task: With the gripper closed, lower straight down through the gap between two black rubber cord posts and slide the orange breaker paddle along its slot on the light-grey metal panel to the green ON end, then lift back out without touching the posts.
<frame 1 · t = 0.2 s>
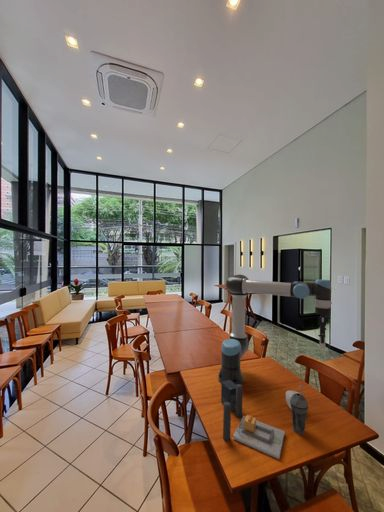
hand: (322, 344, 125), 28 cm above the table, fingers open, 13 cm apart
breaker paddle: (250, 423, 96), point 4 cm above the table, slide at 0.0 cm
cup: (292, 407, 114), on the table
cord post B: (226, 438, 92), on the table
box: (229, 405, 114), on the table
breaker panel: (259, 436, 93), on the table
beverage cup: (298, 430, 98), on the table
cord post A: (238, 415, 106), on the table
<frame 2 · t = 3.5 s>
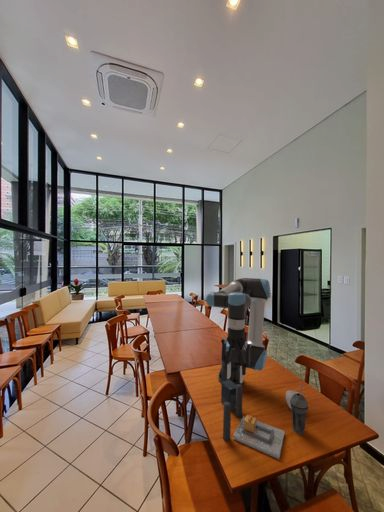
hand: (235, 379, 99), 21 cm above the table, fingers open, 5 cm apart
nothing on the table moved.
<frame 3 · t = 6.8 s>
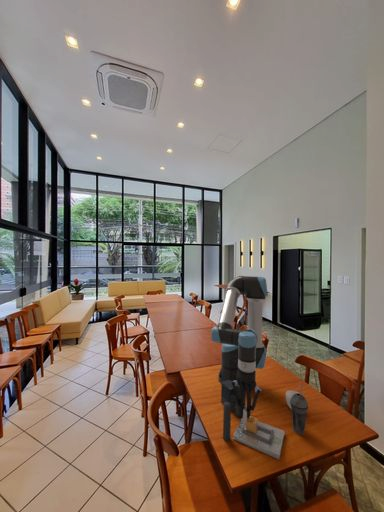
hand: (245, 423, 96), 3 cm above the table, fingers closed
breaker paddle: (252, 423, 95), point 4 cm above the table, slide at 0.9 cm, touching gripper
everything else where it was.
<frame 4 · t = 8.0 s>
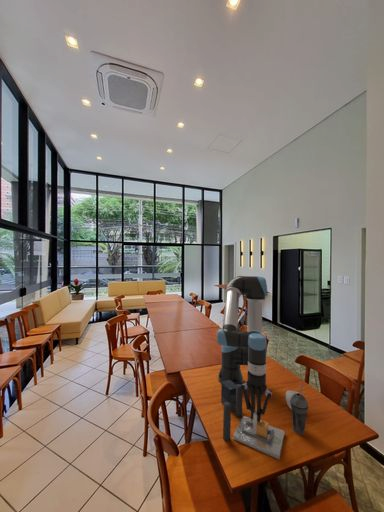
hand: (255, 427, 94), 3 cm above the table, fingers closed
breaker paddle: (262, 427, 93), point 4 cm above the table, slide at 5.2 cm, touching gripper
everything else where it was.
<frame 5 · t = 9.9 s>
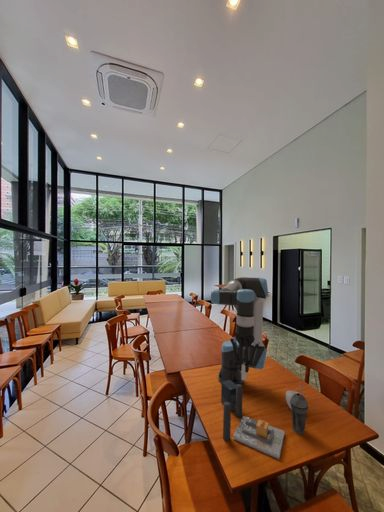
hand: (244, 378, 98), 22 cm above the table, fingers closed
breaker paddle: (262, 427, 93), point 4 cm above the table, slide at 5.2 cm
everything else where it was.
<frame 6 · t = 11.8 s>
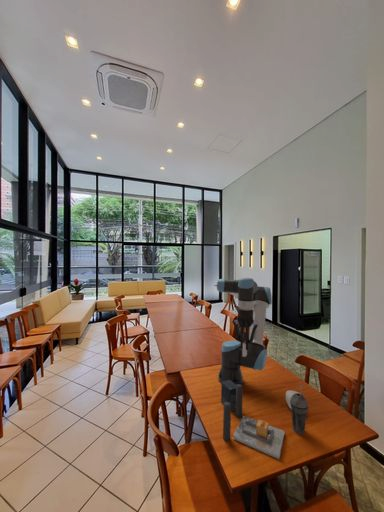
hand: (244, 355, 112), 26 cm above the table, fingers closed
nothing on the table moved.
at the end: breaker paddle slide at 5.2 cm; beverage cup moved 0.2 cm from its start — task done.
